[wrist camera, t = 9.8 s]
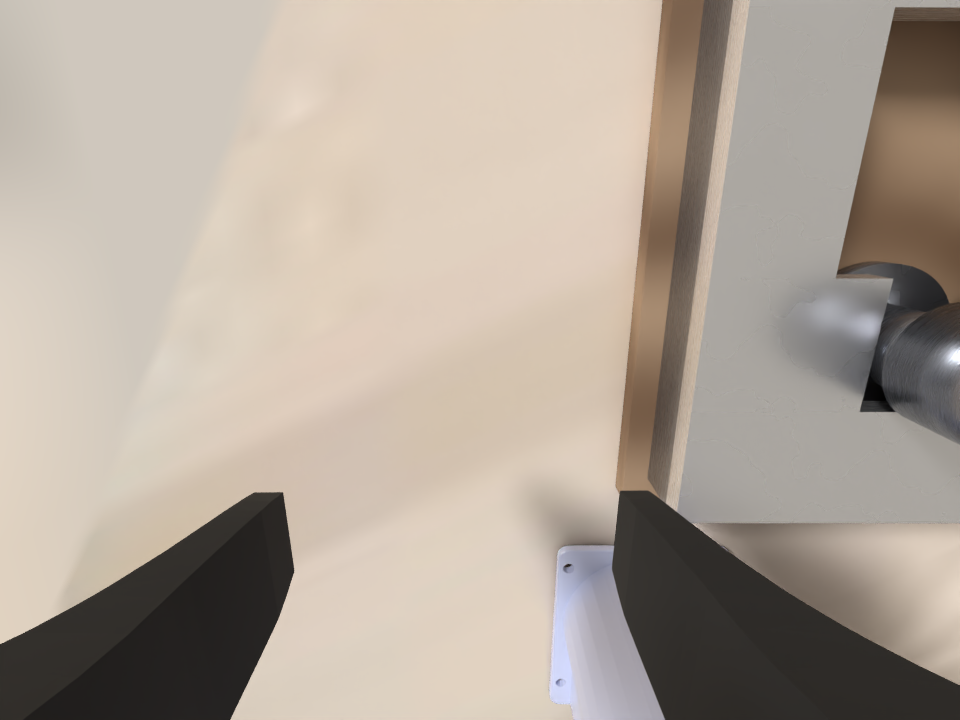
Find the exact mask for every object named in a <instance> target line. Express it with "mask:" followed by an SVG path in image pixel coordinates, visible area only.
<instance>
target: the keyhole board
mask: <svg viewBox="0 0 960 720" xmlns="http://www.w3.org/2000/svg"><path fill="white" fill-rule="evenodd" d="M703 5H704V0H663V3H662V13H661V24H660V34H659V44H658V55H657V65H656V75H655V85H654V96H653V106H652V116H651V127H650V137H649V147H648V157H647V168H646V178H645V188H644V199H643V209H642V219H641V230H640V240H639V250H638V260H637V271H636V281H635V291H634V302H633V312H632V322H631V333H630V343H629V353H628V363H627V374H626V384H625V394H624V405H623V415H622V425H621V436H620V446H619V456H618V466H617V477H616V488H617V490H618V492H619V494H620V491H638V490H648V491H650V492H651V493H653V494H654V495H656V496H657V497H658V498H659V496H658V494H657V493H656V491H655V490H654V488H653V486H652V485H651V483H650V482H649V480H648V478H647V477H648V469H649V460H650V452H651V443H652V435H653V427H654V418H655V410H656V401H657V393H658V384H659V376H660V368H661V359H662V351H663V342H664V334H665V325H666V317H667V309H668V300H669V292H670V283H671V275H672V266H673V258H674V250H675V241H676V233H677V224H678V216H679V207H680V199H681V191H682V182H683V174H684V165H685V157H686V148H687V140H688V132H689V123H690V115H691V106H692V98H693V89H694V81H695V73H696V64H697V56H698V47H699V39H700V30H701V22H702V14H703ZM871 261H879V262H889V263H897V264H904V265H908V266H913V267H915V268H918V269H920V270H922V271H924V272H926V273H928V274H929V275H930V276H932V277H933V278H934V279H935V280H936V281H937V282H938V283H939V284H940V286H941V287H942V288H943V290H944V292H945V293H946V295H947V298H948V301H949V303H956V302H960V21H892V24H891V28H890V33H889V37H888V42H887V46H886V51H885V56H884V60H883V65H882V69H881V74H880V78H879V83H878V87H877V92H876V97H875V101H874V106H873V110H872V115H871V119H870V124H869V129H868V133H867V138H866V142H865V147H864V151H863V156H862V160H861V165H860V170H859V174H858V179H857V183H856V188H855V192H854V197H853V202H852V206H851V211H850V215H849V220H848V224H847V229H846V233H845V238H844V243H843V247H842V252H841V256H840V261H839V265H838V270H839V269H842V268H844V267H846V266H850V265H853V264H856V263H862V262H871Z"/></svg>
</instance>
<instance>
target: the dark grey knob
mask: <svg viewBox="0 0 960 720" xmlns="http://www.w3.org/2000/svg"><path fill="white" fill-rule="evenodd" d="M837 274H870V275H876V276H881V277H887V278H893V282H892V286H891V290H890V294H889V298H888V302H887V306H886V310H885V314H884V318H883V322H882V326H881V329H880V333H879V337H878V341H877V345H876V349H875V353H874V357H873V361H872V365H871V369H870V373H869V377H868V381H867V384H866V388H865V392H864V396H863V400H862V401H887V402H888V403H889V405H890V406H891V407H892V408H893V409H894V411H896V412H897V413H898V414H899V415H901V416H903V417H904V418H906V419H908V420H910V421H912V422H914V423H916V424H918V425H920V426H922V427H925V428H927V429H929V430H931V431H933V432H935V433H937V434H939V435H941V436H943V437H945V438H947V439H949V440H951V441H953V442H955V443H957V444H959V445H960V302H956V303H949V301H948V298H947V295H946V293H945V292H944V290H943V288H942V287H941V286H940V284H939V283H938V282H937V281H936V280H935V279H934V278H933V277H932V276H930V275H929V274H928V273H926V272H924V271H922V270H920V269H918V268H915V267H913V266H908V265H904V264H897V263H889V262H879V261H871V262H862V263H856V264H853V265H850V266H846V267H844V268H842V269H839V270H837Z"/></svg>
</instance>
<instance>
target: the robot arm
mask: <svg viewBox="0 0 960 720" xmlns="http://www.w3.org/2000/svg"><path fill="white" fill-rule="evenodd" d="M566 564H572V565H571V566H570V567H564V566H565V565H566ZM293 574H294V565H293V558H292V551H291V544H290V537H289V530H288V523H287V517H286V510H285V503H284V496H283V492H275V493H253V494H251V495H249V496H248V497H246V498H244V499H243V500H241V501H240V502H238V503H236V504H235V505H233V506H232V507H230V508H229V509H227V510H226V511H224V512H223V513H221V514H220V515H218V516H217V517H215V518H214V519H213V520H211V521H210V522H208V523H207V524H205V525H204V526H202V527H201V528H199V529H198V530H196V531H195V532H193V533H192V534H190V535H189V536H187V537H186V538H184V539H183V540H181V541H180V542H178V543H177V544H175V545H174V546H172V547H171V548H169V549H168V550H166V551H165V552H163V553H162V554H160V555H159V556H157V557H155V558H154V559H152V560H151V561H149V562H147V563H146V564H144V565H143V566H141V567H139V568H138V569H136V570H134V571H133V572H131V573H130V574H128V575H126V576H125V577H123V578H122V579H120V580H118V581H117V582H115V583H114V584H112V585H110V586H109V587H107V588H105V589H104V590H102V591H100V592H99V593H97V594H95V595H93V596H92V597H90V598H88V599H86V600H85V601H83V602H81V603H79V604H77V605H76V606H74V607H72V608H70V609H68V610H66V611H64V612H63V613H61V614H59V615H57V616H55V617H53V618H51V619H50V620H48V621H46V622H44V623H42V624H40V625H39V626H37V627H35V628H33V629H31V630H29V631H27V632H25V633H23V634H21V635H19V636H17V637H14V638H12V639H11V640H8V641H6V642H4V643H2V644H0V720H230V719H231V717H232V715H233V713H234V711H235V708H236V706H237V704H238V702H239V700H240V698H241V696H242V694H243V692H244V690H245V688H246V686H247V684H248V682H249V679H250V677H251V675H252V673H253V671H254V669H255V667H256V665H257V663H258V661H259V659H260V657H261V655H262V653H263V650H264V648H265V646H266V644H267V642H268V640H269V638H270V636H271V633H272V631H273V629H274V627H275V625H276V623H277V621H278V618H279V616H280V613H281V610H282V607H283V604H284V601H285V599H286V596H287V593H288V589H289V586H290V583H291V580H292V577H293ZM549 694H550V699H551V701H552V702H554V703H556V704H571V710H572V715H573V720H960V685H958V684H955V683H953V682H951V681H949V680H947V679H945V678H943V677H941V676H939V675H937V674H935V673H933V672H930V671H928V670H926V669H924V668H922V667H920V666H918V665H916V664H914V663H912V662H910V661H908V660H906V659H904V658H903V657H901V656H899V655H897V654H895V653H893V652H891V651H889V650H887V649H885V648H883V647H881V646H879V645H877V644H876V643H874V642H872V641H870V640H868V639H866V638H864V637H862V636H861V635H859V634H857V633H855V632H853V631H851V630H850V629H848V628H846V627H844V626H842V625H841V624H839V623H837V622H836V621H834V620H832V619H831V618H829V617H827V616H825V615H824V614H822V613H820V612H819V611H817V610H815V609H814V608H812V607H810V606H809V605H807V604H805V603H804V602H802V601H800V600H799V599H797V598H796V597H794V596H792V595H791V594H789V593H788V592H786V591H785V590H783V589H781V588H780V587H778V586H777V585H775V584H774V583H772V582H771V581H770V580H768V579H767V578H765V577H764V576H762V575H761V574H759V573H758V572H756V571H755V570H753V569H752V568H751V567H749V566H748V565H746V564H745V563H743V562H742V561H741V560H739V559H738V558H736V557H735V556H734V555H732V554H731V553H730V552H729V551H728V550H727V549H726V548H725V547H723V546H720V545H719V544H717V543H716V542H715V541H714V540H712V539H711V538H710V537H708V536H707V535H706V534H704V533H703V532H702V531H700V530H699V529H698V528H697V527H695V526H694V525H693V524H692V523H690V522H689V521H688V520H686V519H685V518H684V517H683V516H681V515H680V514H679V513H678V512H676V511H675V510H674V509H672V508H671V507H670V506H669V505H667V504H666V503H665V502H664V501H662V500H661V499H660V498H658V497H657V496H656V495H654V494H653V493H651V492H650V491H648V490H638V491H620V496H619V505H618V514H617V524H616V533H615V542H614V545H568V546H564V547H562V548H560V550H559V551H558V554H557V567H556V584H555V601H554V617H553V634H552V651H551V668H550V685H549Z"/></svg>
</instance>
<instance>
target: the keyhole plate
mask: <svg viewBox="0 0 960 720" xmlns="http://www.w3.org/2000/svg"><path fill="white" fill-rule="evenodd" d="M892 21H960V0H704V5H703V14H702V22H701V30H700V39H699V47H698V56H697V64H696V73H695V81H694V89H693V98H692V106H691V115H690V123H689V132H688V140H687V148H686V157H685V165H684V174H683V182H682V191H681V199H680V207H679V216H678V224H677V233H676V241H675V250H674V258H673V266H672V275H671V283H670V292H669V300H668V309H667V317H666V325H665V334H664V342H663V351H662V359H661V368H660V376H659V384H658V393H657V401H656V410H655V418H654V427H653V435H652V443H651V452H650V460H649V469H648V477H647V478H648V480H649V482H650V483H651V485H652V486H653V488H654V490H655V491H656V493H657V494H658V496H659V498H660V499H661V500H662V501H664V502H665V503H666V504H667V505H669V506H670V507H671V508H672V509H674V510H675V511H676V512H678V513H679V514H680V515H681V516H683V517H684V518H685V519H686V520H688V521H689V522H690V523H960V445H959V444H957V443H955V442H953V441H951V440H949V439H947V438H945V437H943V436H941V435H939V434H937V433H935V432H933V431H931V430H929V429H927V428H925V427H922V426H920V425H918V424H916V423H914V422H912V421H910V420H908V419H906V418H904V417H903V416H901V415H899V414H898V413H897V412H896V411H894V409H893V408H892V407H891V406H890V405H889V403H888V402H887V401H862V400H863V396H864V392H865V388H866V384H867V381H868V377H869V373H870V369H871V365H872V361H873V357H874V353H875V349H876V345H877V341H878V337H879V333H880V329H881V326H882V322H883V318H884V314H885V310H886V306H887V302H888V298H889V294H890V290H891V286H892V282H893V278H887V277H881V276H876V275H870V274H837V270H838V265H839V261H840V256H841V252H842V247H843V243H844V238H845V233H846V229H847V224H848V220H849V215H850V211H851V206H852V202H853V197H854V192H855V188H856V183H857V179H858V174H859V170H860V165H861V160H862V156H863V151H864V147H865V142H866V138H867V133H868V129H869V124H870V119H871V115H872V110H873V106H874V101H875V97H876V92H877V87H878V83H879V78H880V74H881V69H882V65H883V60H884V56H885V51H886V46H887V42H888V37H889V33H890V28H891V24H892Z"/></svg>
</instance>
